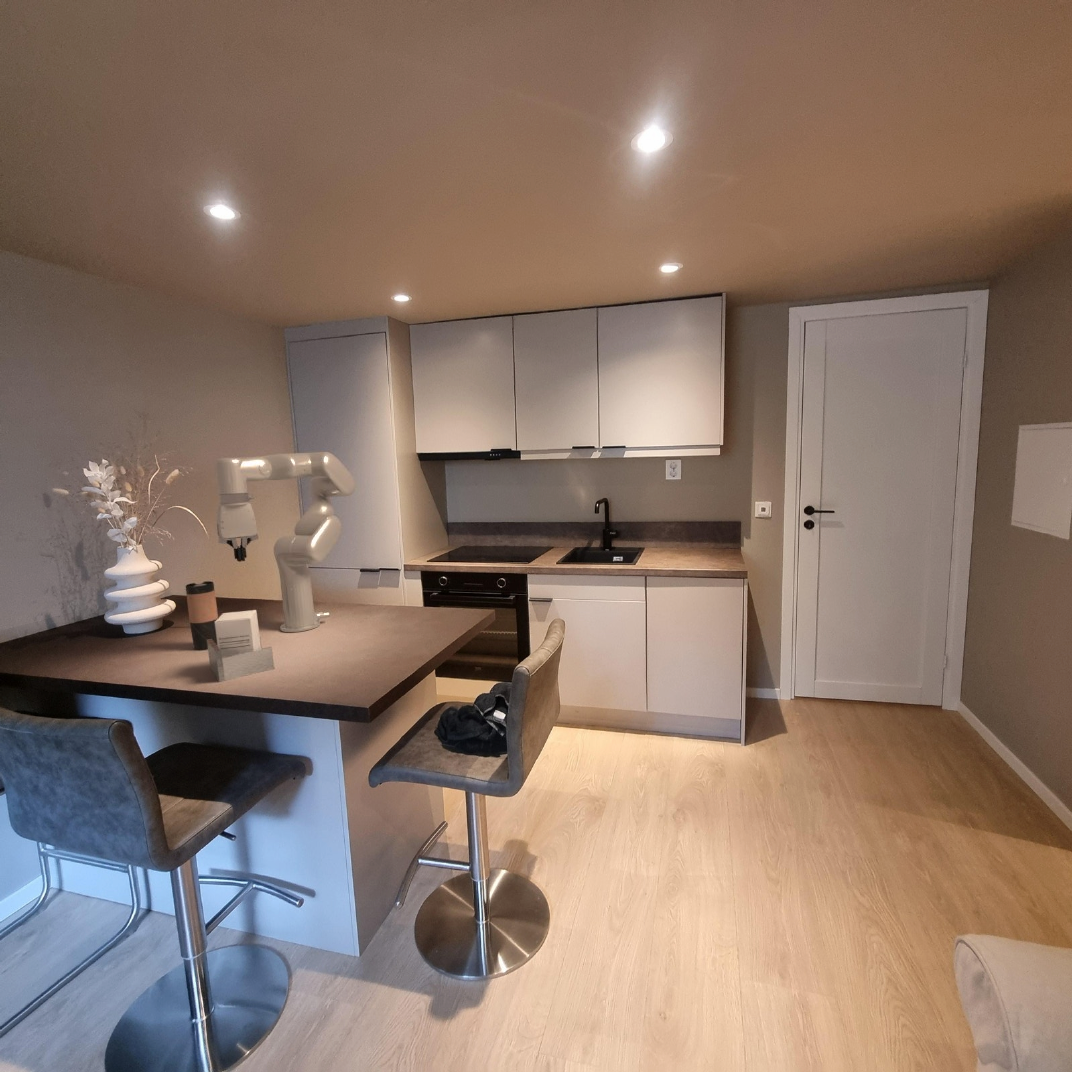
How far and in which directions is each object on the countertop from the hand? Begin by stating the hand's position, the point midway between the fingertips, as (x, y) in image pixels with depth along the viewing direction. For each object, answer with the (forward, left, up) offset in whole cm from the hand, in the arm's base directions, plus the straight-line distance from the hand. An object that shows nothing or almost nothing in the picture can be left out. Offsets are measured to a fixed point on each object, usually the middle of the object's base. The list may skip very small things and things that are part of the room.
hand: (241, 560), depth 169 cm
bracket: (+6, +18, -27) cm, 33 cm away
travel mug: (+10, -12, -27) cm, 31 cm away
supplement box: (+6, +18, -27) cm, 33 cm away
